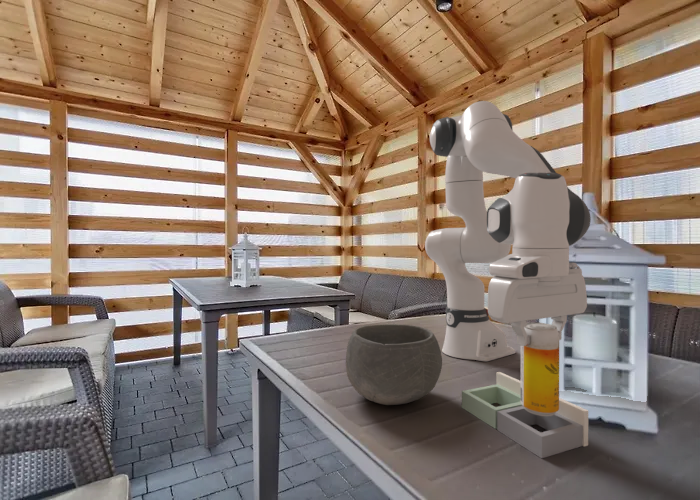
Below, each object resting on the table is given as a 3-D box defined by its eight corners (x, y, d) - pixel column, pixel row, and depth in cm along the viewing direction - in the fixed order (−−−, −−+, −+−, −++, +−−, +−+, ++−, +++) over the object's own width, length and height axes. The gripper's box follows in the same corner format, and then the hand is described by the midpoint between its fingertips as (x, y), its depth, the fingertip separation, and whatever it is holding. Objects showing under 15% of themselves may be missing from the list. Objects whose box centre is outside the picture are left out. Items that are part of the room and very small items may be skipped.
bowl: (441, 384, 89) (441, 323, 89) (443, 427, 69) (443, 348, 68) (356, 378, 94) (356, 319, 93) (334, 416, 73) (334, 341, 73)
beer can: (564, 419, 62) (565, 330, 61) (525, 416, 63) (525, 329, 62) (552, 403, 68) (552, 322, 67) (516, 400, 69) (516, 321, 68)
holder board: (499, 398, 81) (499, 371, 81) (588, 445, 62) (588, 410, 62) (461, 407, 77) (461, 378, 77) (542, 459, 58) (543, 422, 58)
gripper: (565, 260, 71) (564, 331, 72) (481, 265, 63) (481, 344, 64) (597, 263, 65) (596, 339, 66) (509, 268, 58) (509, 355, 58)
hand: (539, 342), depth 65 cm, fingers closed on beer can, 6 cm apart
